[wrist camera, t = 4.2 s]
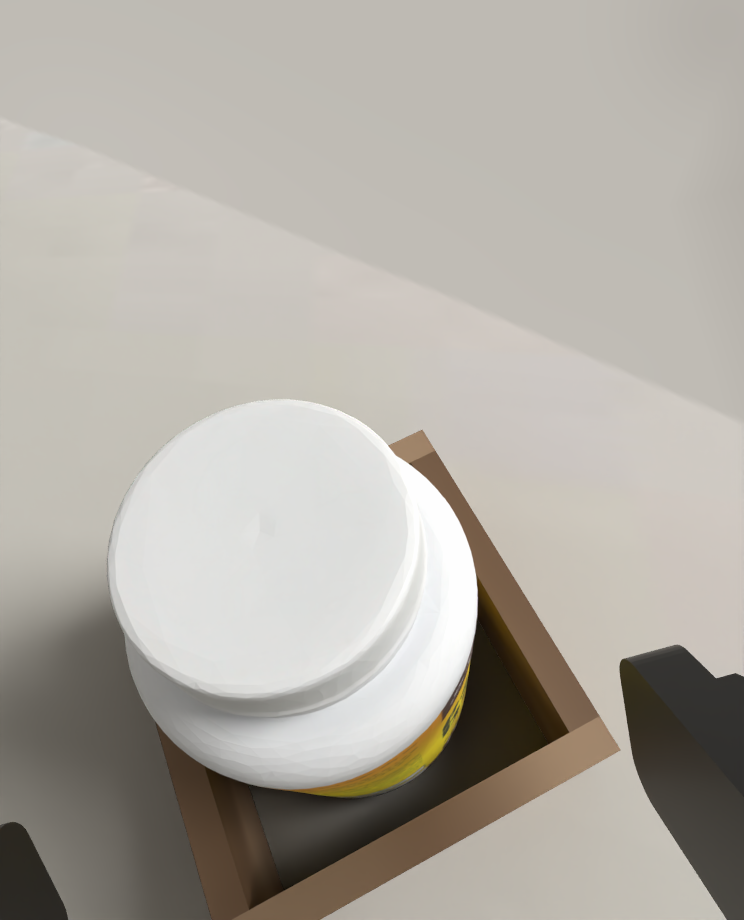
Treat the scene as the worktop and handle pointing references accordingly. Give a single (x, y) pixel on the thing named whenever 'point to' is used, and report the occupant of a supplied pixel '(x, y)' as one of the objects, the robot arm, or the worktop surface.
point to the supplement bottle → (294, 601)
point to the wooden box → (567, 754)
